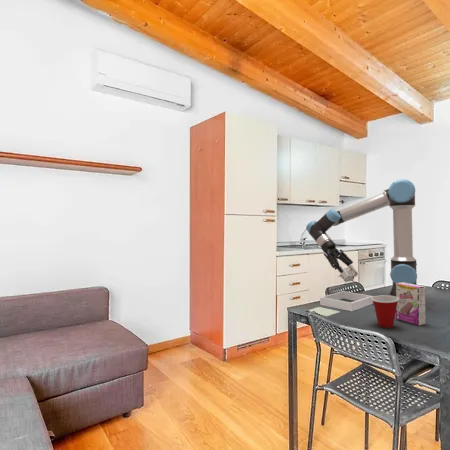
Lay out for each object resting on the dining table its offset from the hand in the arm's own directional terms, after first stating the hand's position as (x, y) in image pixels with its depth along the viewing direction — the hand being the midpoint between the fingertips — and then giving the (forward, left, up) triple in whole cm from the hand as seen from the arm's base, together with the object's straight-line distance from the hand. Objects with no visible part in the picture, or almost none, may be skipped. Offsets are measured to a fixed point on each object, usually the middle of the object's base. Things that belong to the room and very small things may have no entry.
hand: (352, 276), depth 179 cm
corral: (+3, 0, -15) cm, 16 cm away
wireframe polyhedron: (+3, -1, -4) cm, 5 cm away
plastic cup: (-27, +21, -16) cm, 37 cm away
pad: (+3, +22, -15) cm, 27 cm away
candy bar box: (-32, +8, -16) cm, 36 cm away
